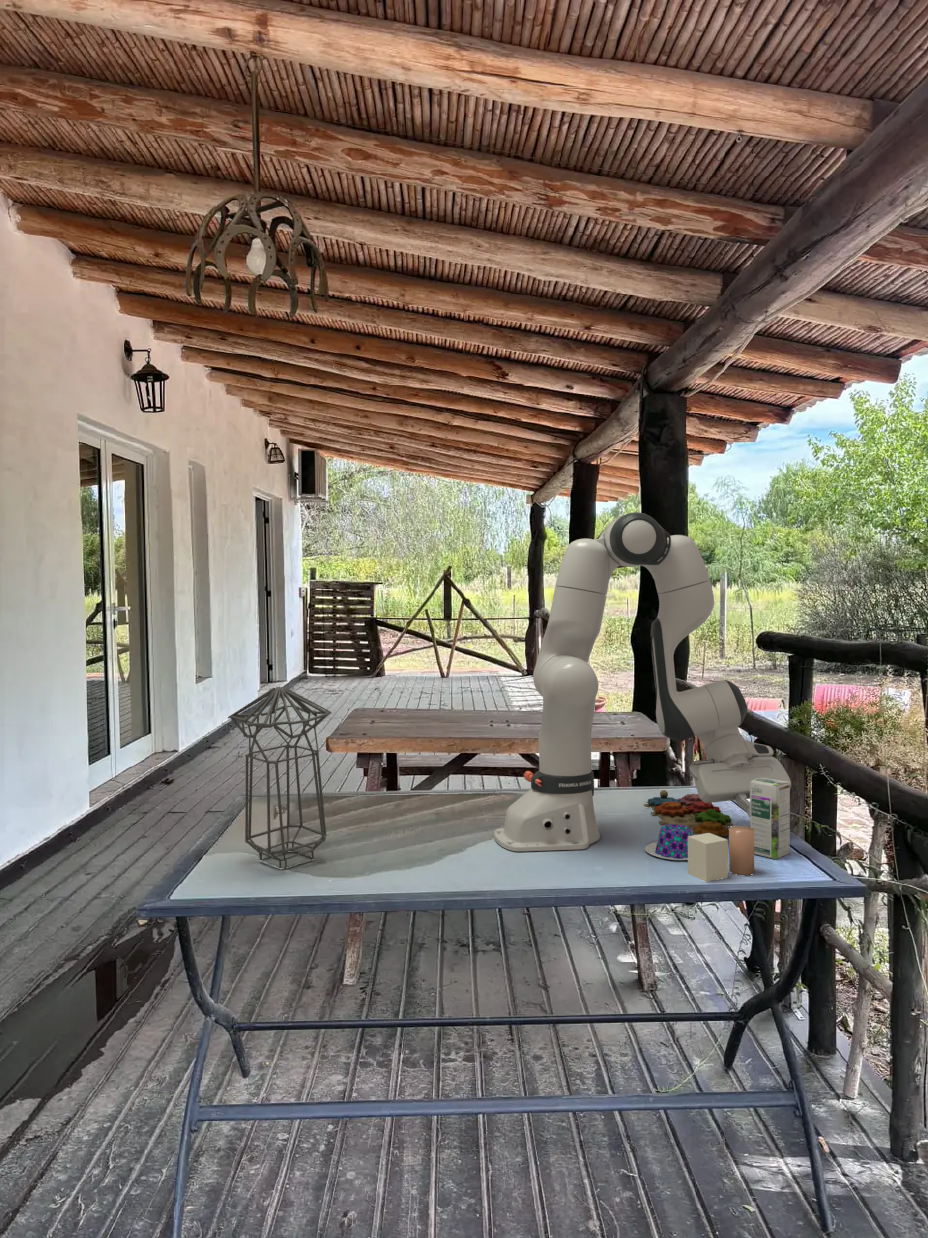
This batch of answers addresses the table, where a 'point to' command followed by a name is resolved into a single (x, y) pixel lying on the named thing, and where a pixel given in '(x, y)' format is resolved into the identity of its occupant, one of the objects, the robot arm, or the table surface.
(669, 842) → the pudding
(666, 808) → the gear puzzle
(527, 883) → the table surface
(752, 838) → the terracotta cylinder
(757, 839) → the syrup box
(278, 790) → the geometric lantern
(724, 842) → the cream block
